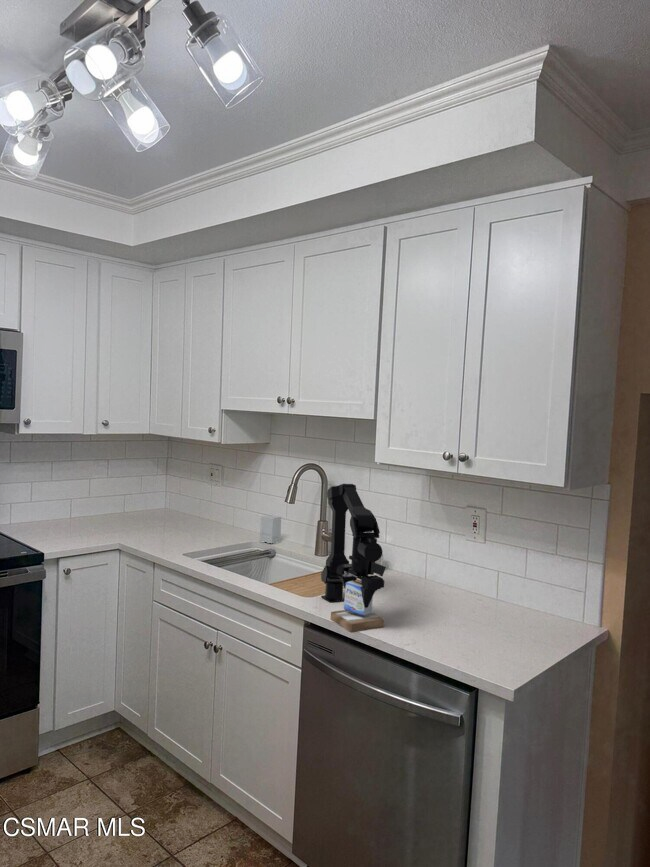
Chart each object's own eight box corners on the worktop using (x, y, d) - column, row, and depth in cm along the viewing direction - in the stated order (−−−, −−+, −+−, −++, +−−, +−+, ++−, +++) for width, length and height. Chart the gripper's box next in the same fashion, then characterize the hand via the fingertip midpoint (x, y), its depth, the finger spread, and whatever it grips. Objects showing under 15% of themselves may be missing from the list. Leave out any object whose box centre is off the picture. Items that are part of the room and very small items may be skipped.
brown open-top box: (330, 619, 200) (331, 610, 199) (362, 615, 206) (362, 606, 206) (351, 632, 189) (351, 623, 189) (383, 627, 195) (384, 618, 195)
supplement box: (280, 542, 308) (282, 516, 308) (271, 544, 302) (272, 518, 301) (268, 540, 312) (269, 514, 311) (259, 542, 306) (260, 516, 305)
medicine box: (343, 609, 198) (345, 582, 198) (351, 606, 202) (353, 579, 201) (363, 616, 193) (365, 588, 193) (372, 612, 197) (374, 585, 196)
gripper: (400, 559, 193) (396, 609, 193) (365, 545, 209) (362, 592, 209) (370, 561, 187) (366, 613, 188) (337, 547, 203) (334, 595, 204)
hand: (358, 603), depth 197 cm, fingers closed on medicine box, 9 cm apart
